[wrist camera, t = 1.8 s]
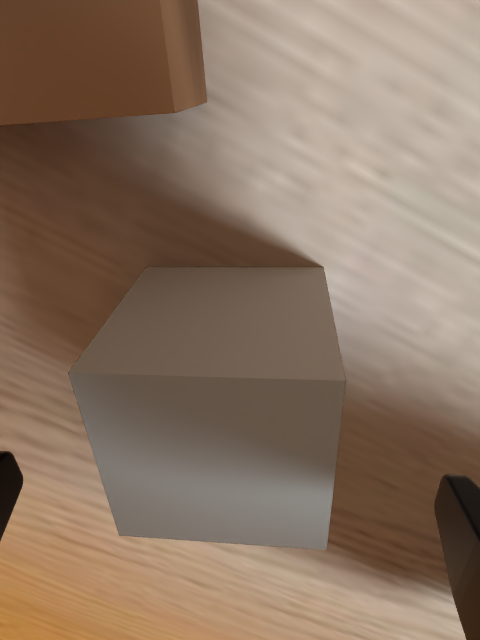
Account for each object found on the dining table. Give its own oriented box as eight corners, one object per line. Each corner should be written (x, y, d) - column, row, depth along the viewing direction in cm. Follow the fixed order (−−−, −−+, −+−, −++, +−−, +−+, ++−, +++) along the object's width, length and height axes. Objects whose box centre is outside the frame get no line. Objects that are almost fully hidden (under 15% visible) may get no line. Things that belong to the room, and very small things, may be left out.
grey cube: (314, 403, 14) (326, 550, 10) (169, 398, 14) (119, 535, 10) (323, 265, 11) (345, 380, 7) (147, 265, 12) (68, 372, 8)
